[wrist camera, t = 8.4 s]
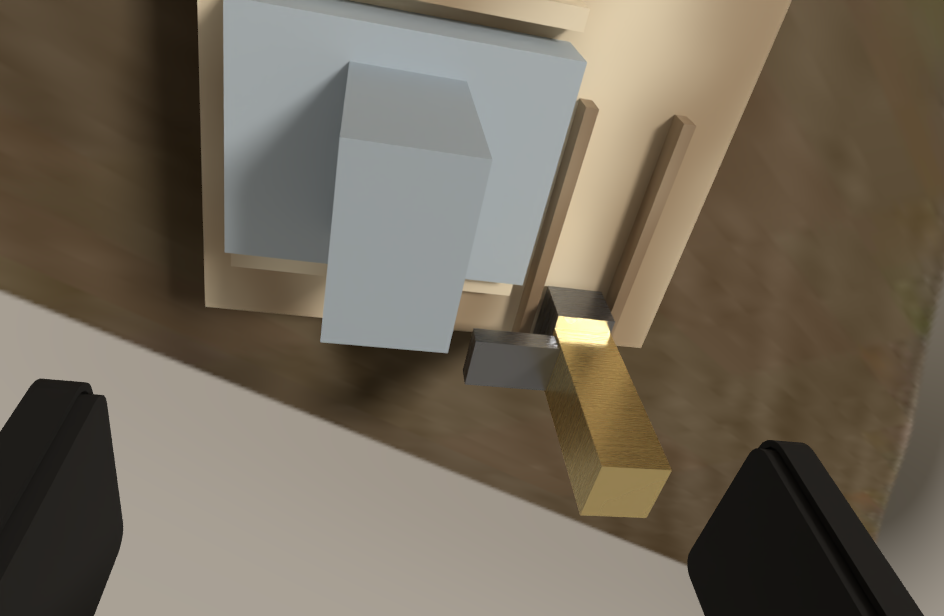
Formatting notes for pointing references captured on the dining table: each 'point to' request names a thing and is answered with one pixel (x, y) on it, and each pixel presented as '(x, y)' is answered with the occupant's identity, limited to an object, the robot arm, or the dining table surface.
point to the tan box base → (581, 161)
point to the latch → (580, 399)
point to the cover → (390, 155)
